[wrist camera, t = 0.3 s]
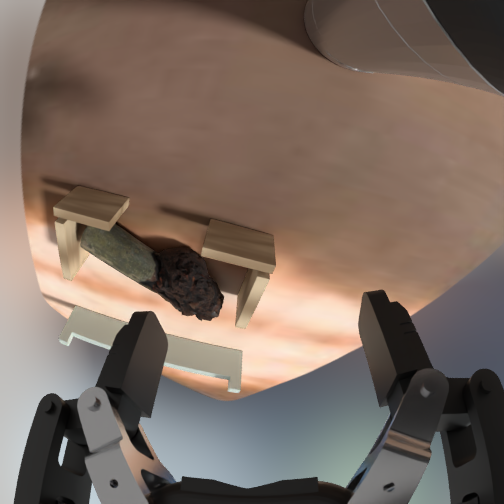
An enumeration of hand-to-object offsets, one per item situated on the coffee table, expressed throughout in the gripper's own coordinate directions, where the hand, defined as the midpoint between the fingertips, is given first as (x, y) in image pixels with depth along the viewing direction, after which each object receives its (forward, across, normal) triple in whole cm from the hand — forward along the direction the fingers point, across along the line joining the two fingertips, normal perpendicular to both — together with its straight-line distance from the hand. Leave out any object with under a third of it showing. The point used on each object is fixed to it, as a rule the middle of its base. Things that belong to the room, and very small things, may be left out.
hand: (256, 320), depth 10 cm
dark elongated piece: (+19, +12, +8) cm, 24 cm away
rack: (+19, +19, +22) cm, 35 cm away
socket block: (+18, +12, +6) cm, 22 cm away
